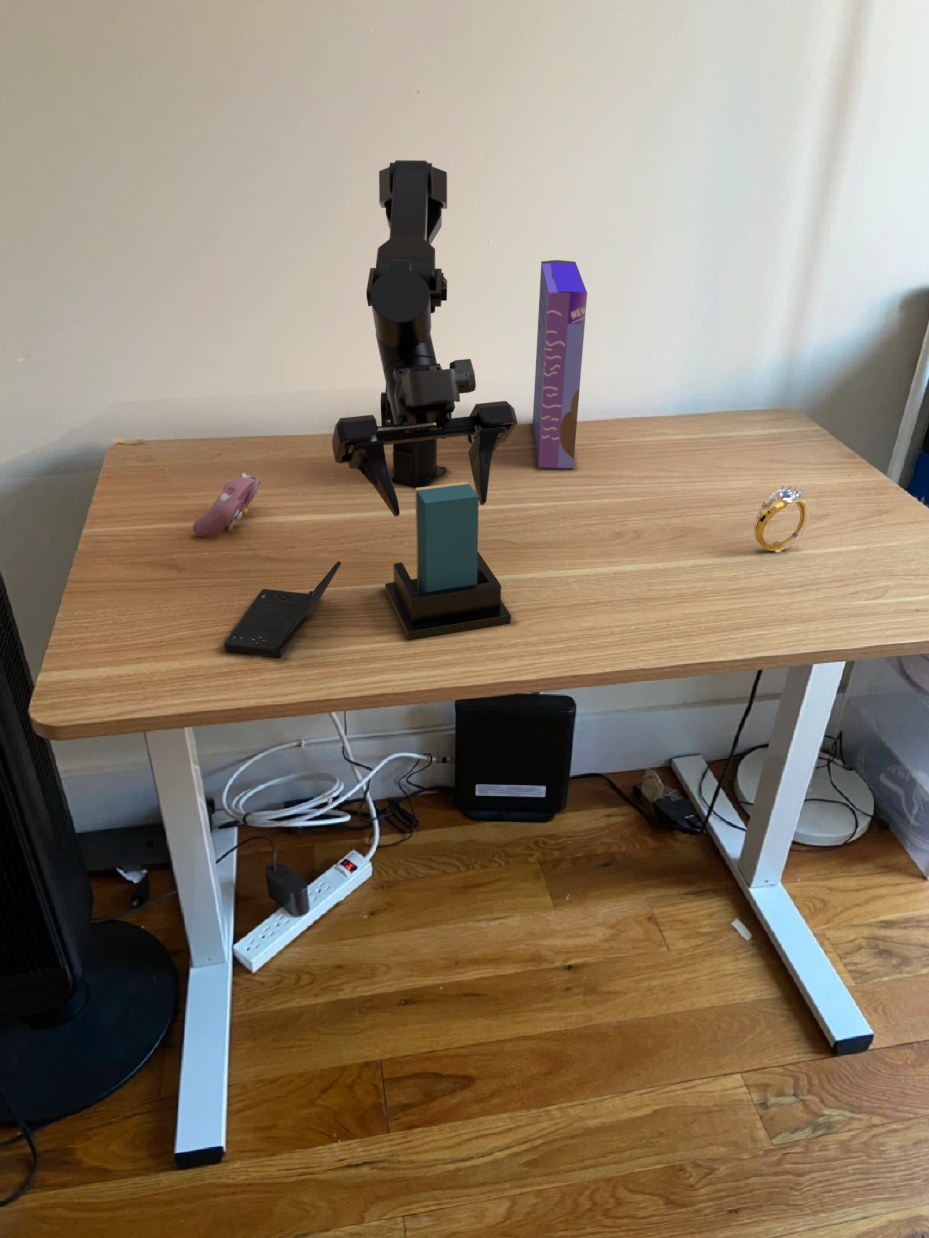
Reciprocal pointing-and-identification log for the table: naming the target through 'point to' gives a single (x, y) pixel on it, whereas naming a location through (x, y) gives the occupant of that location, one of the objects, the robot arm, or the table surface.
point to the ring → (766, 515)
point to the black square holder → (447, 604)
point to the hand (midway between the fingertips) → (440, 509)
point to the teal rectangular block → (446, 536)
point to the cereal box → (558, 363)
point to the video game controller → (228, 506)
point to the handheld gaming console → (275, 620)
